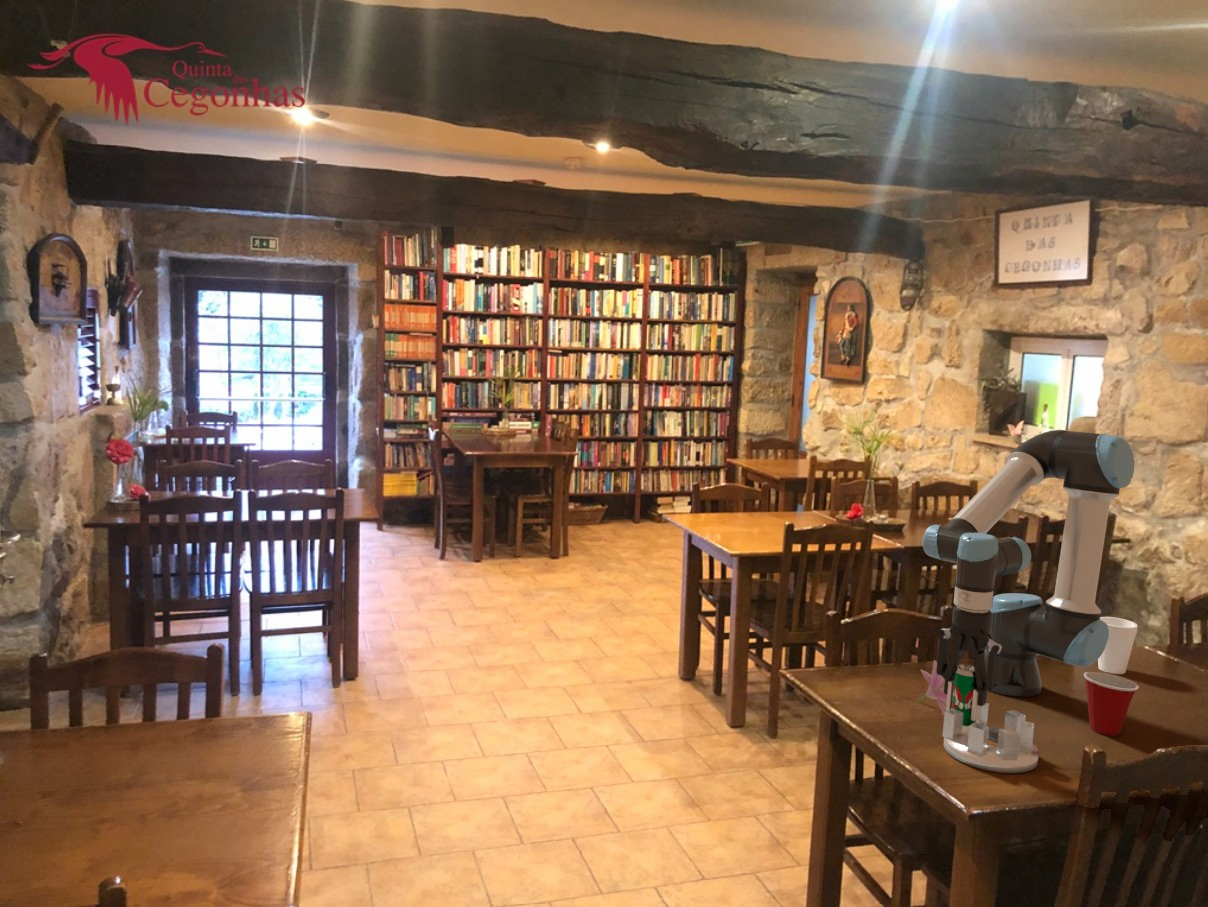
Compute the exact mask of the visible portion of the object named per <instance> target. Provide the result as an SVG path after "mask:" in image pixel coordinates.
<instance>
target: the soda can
mask: <svg viewBox="0 0 1208 907" xmlns="http://www.w3.org/2000/svg"><path fill="white" fill-rule="evenodd" d="M975 689H977V683H976V676H975V669H974V665H971V664H963V663H962V664H961V663H960V664H959V665H957V668H956V669H955V670H954V680H953V692H952V704H951V709H953V708H954V709H956V710H959V711H961V712H963V723H962V726H969V725H971V724H973V723H974V722H975V723H976V720H975V721H973V720H971V712H972V701H973V690H975Z"/></svg>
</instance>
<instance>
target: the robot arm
mask: <svg viewBox="0 0 1208 907" xmlns="http://www.w3.org/2000/svg"><path fill="white" fill-rule="evenodd" d="M1134 457H1135V456H1134V453H1133V450H1132V448H1131V444H1129V443H1128V441H1127V440H1126V439H1124V438H1123V437H1121V436H1117V435H1111V434H1106V433H1093V432H1084V431H1075V430H1073V431H1072V430H1067V429H1054V430H1050V431H1044V432H1042V433H1039V434H1037V435H1035V436H1033V437H1031V438H1029V439H1027V440H1025V441H1023V442H1022V443H1021V444H1019V445H1018V446H1016V447H1015V448H1014V449H1013V450H1012V451H1011V452H1010V453H1009V454H1008V455H1007V456H1006V457H1005V460H1004V465H1003V466H1002V467H1001V468H1000V469H999V471H997V472H996V473H995V474H994V476H992V477H991V478H990V480H989V481H988V482H987V483H986V484H985V485H984V486H983V487H982V488H981V489H980V490H979V491H978V492H977V493H975V495H974V496H973V497H972V498H971V499H970V500H968V502H967V503H966V504H965V505H964V506H963V507H962V508H961V509H960V510H959V511H958V512H957V513H956V514H955V515H954V517H952V518H951V519H950V520H949V521H948V522H947V523H946V525H942V524H933V525H929V526H928V527H927V528H926V529H925V531H924V534H922V540H921V542H922V543H921V544H922V545H921V546H922V548H923V551H924V553H925V554H926V555H927V556H928V557H931V558H934V559H937V560H940V561H944V562H948V563H953V564H956V570H955V571H956V572H955V574H956V575H955V582H954V584H955V586H954V597H953V604H954V606H953V607H952V614H951V615H952V617H951V622H952V623H951V624H952V625H951V626H950V628H947V627H944V628H943V627H942V628H941V629H938V630H937V631H936V632H937V637H938V650H937V651H938V652H937V660H936V662H937V671H936V672H937V674H938V675H941V676H942V677H943V679H945V684H944V693H945V694H947V703H945V711H947V710H950V709H951V704H952V692H953V680H954V670H955V669H956V668H957V665H961V661H962V659H963V656H964V653H965V651H966V652H969V653H970V655H971V659H972V662H973V666H974V669H975V676H976V683H977V689H975V690H973V701H972V712H971V720H973V721H975V720H977V719H979V718H981V709H982V706H983V705H985V704H986V703H987V698H988V696H987V695H988V692H992V693H996V694H1000V695H1005V696H1010V697H1022V698H1023V697H1035V696H1037V695H1039V694H1041V692H1042V685H1043V684H1042V683H1043V682H1042V679H1041V674H1040V670H1039V667H1038V662H1037V655H1040V656H1043V657H1045V658H1049V659H1052V660H1056V661H1058V662H1061V663H1064V664H1066V665H1069V666H1070V665H1072V666H1075V667H1079V668H1087V667H1090V666H1093V665H1094V664H1095V663H1096V662H1098V659H1099V657H1100V656H1101V655H1102V653H1103V651H1104V649H1105V647H1106V645H1107V641H1108V637H1109V630H1108V625H1107V624H1106V623H1105V622H1104V621H1102V620H1100V617H1101V616H1102V615H1101V614H1102V610H1101V609H1100V608H1099V606H1098V605H1097V604H1096V598H1097V590H1098V585H1099V578H1100V571H1101V565H1102V560H1103V559H1102V558H1103V551H1104V546H1105V539H1106V538H1105V537H1106V531H1107V526H1108V525H1107V524H1108V518H1109V512H1110V506H1111V502H1112V500H1115V499H1116V498H1117V497H1119V495H1120V489H1124V488H1127V487H1128V486H1129V485H1130V484H1131V482H1132V479H1133V477H1134V472H1135V458H1134ZM1053 478H1054V479H1059V480H1063V484H1062V489H1063V490H1064V491H1065V493H1066V494H1067V495H1068V499H1067V506H1066V513H1065V514H1066V515H1065V521H1064V527H1063V534H1062V541H1061V547H1060V554H1059V561H1058V567H1057V574H1056V582H1055V588H1054V594H1053V595H1052V596H1051V597H1050V598H1048V599H1047V600H1045V605H1042V604H1043V600H1042V597H1040V596H1038V595H1036V594H1035V595H1034V594H1029V593H1020V592H1019V593H1018V592H1017V593H1016V592H1015V593H1013V592H1011V593H1007V592H1006V593H1000V594H997V595H994V590H995V581H996V578H997V577H1002V576H1007V575H1014V574H1017V573H1018V572H1021V571H1024V570H1025V569H1027V568H1028V566H1030V564H1031V561H1032V551H1031V548H1030V547H1029V545H1028V544H1027V543H1026V542H1025V541H1024V540H1023V539H1021V538H1019V537H1010V536H1007V537H1004V538H1000V537H996V536H995V535H992V534H988V532H989V531H990V530H991V529H992V528H993V526H994V525H996V523H998V521H999V520H1001V518H1002V517H1003V516H1004V515H1005V514H1007V512H1008V511H1009V510H1010V509H1011V508H1012V507H1013V505H1014V504H1016V502H1018V500H1020V498H1021V497H1022V496H1023V495H1024V494H1025V493H1026V492H1027V491H1028V490H1029V489H1030V487H1035V486H1037V485H1039V484H1041V482H1043V481H1044V480H1046V479H1053ZM951 638H952V639H953V641H954V644H953V647H952V653H951V655H950V649H951ZM949 658H950V659H949Z"/></svg>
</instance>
